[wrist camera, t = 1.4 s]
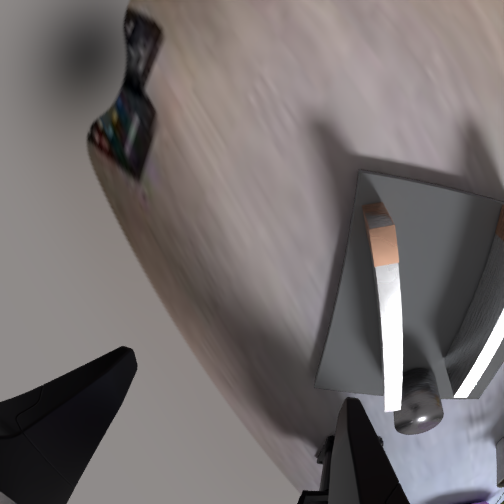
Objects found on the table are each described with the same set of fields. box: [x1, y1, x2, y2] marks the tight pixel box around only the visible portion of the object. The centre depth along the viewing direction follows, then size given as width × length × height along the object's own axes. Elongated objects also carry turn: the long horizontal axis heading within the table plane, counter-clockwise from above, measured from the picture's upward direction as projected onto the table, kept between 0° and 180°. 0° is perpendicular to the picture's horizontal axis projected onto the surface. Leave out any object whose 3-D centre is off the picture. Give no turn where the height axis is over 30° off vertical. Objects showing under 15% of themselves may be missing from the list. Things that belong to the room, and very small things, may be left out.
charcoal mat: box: [314, 170, 504, 399], centre depth 20 cm, size 18×17×1 cm
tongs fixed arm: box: [444, 204, 504, 397], centre depth 16 cm, size 13×1×4 cm, turn 177°
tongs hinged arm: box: [362, 202, 444, 435], centre depth 18 cm, size 18×5×4 cm, turn 17°
